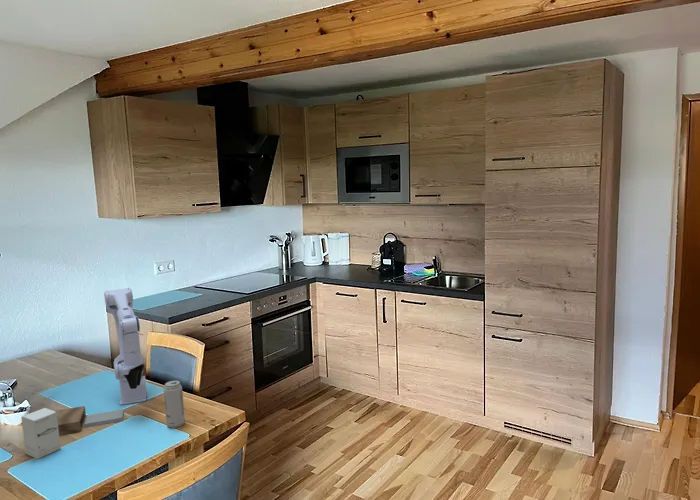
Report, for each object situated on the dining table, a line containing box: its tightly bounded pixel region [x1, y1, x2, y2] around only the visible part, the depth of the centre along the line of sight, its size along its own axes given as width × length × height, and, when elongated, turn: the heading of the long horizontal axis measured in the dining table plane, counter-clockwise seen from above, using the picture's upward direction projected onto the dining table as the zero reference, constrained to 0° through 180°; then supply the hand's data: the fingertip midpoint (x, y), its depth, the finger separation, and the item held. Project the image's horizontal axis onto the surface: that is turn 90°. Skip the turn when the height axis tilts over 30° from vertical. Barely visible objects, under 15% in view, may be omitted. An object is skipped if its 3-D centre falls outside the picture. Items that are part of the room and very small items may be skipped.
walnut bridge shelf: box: [57, 405, 87, 436], centre depth 180 cm, size 8×14×4 cm, turn 20°
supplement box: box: [21, 407, 61, 460], centre depth 162 cm, size 7×7×13 cm
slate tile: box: [84, 408, 125, 428], centre depth 184 cm, size 12×8×2 cm, turn 110°
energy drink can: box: [163, 380, 186, 429], centre depth 177 cm, size 6×6×15 cm
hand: (135, 386), depth 186 cm, fingers closed
